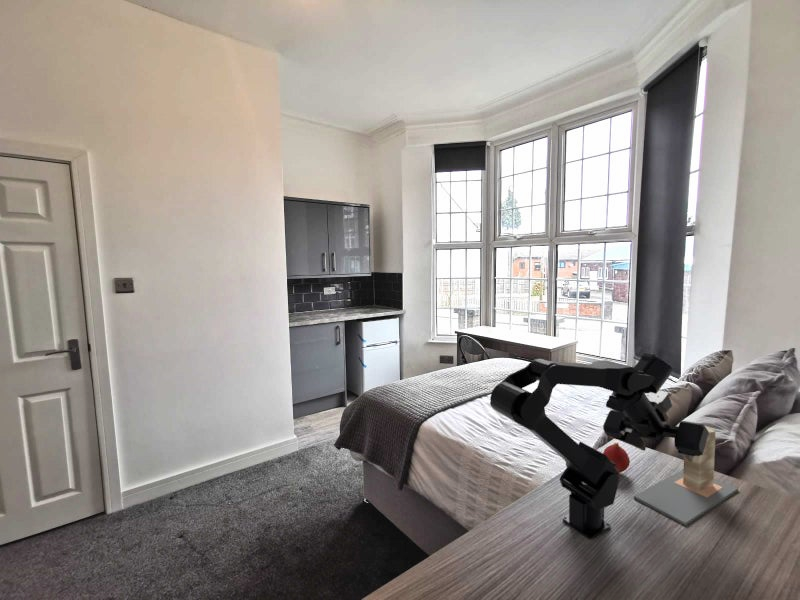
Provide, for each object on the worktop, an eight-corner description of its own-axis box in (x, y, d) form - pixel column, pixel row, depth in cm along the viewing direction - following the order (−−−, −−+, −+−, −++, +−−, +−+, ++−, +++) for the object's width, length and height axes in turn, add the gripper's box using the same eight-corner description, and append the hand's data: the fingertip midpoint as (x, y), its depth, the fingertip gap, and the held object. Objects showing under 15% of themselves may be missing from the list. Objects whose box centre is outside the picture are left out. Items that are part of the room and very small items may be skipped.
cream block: (698, 491, 82) (700, 435, 81) (683, 483, 85) (684, 429, 84) (713, 486, 84) (715, 431, 83) (698, 478, 87) (700, 425, 86)
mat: (685, 525, 73) (685, 522, 73) (633, 498, 82) (633, 495, 82) (738, 490, 83) (738, 487, 83) (687, 469, 92) (687, 467, 92)
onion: (597, 470, 93) (597, 440, 92) (612, 464, 96) (612, 434, 95) (619, 482, 88) (619, 450, 87) (634, 475, 90) (635, 444, 90)
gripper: (699, 383, 73) (728, 432, 78) (606, 375, 89) (634, 417, 93) (685, 429, 68) (716, 479, 73) (589, 412, 84) (619, 454, 89)
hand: (667, 454), depth 82 cm, fingers open, 9 cm apart
